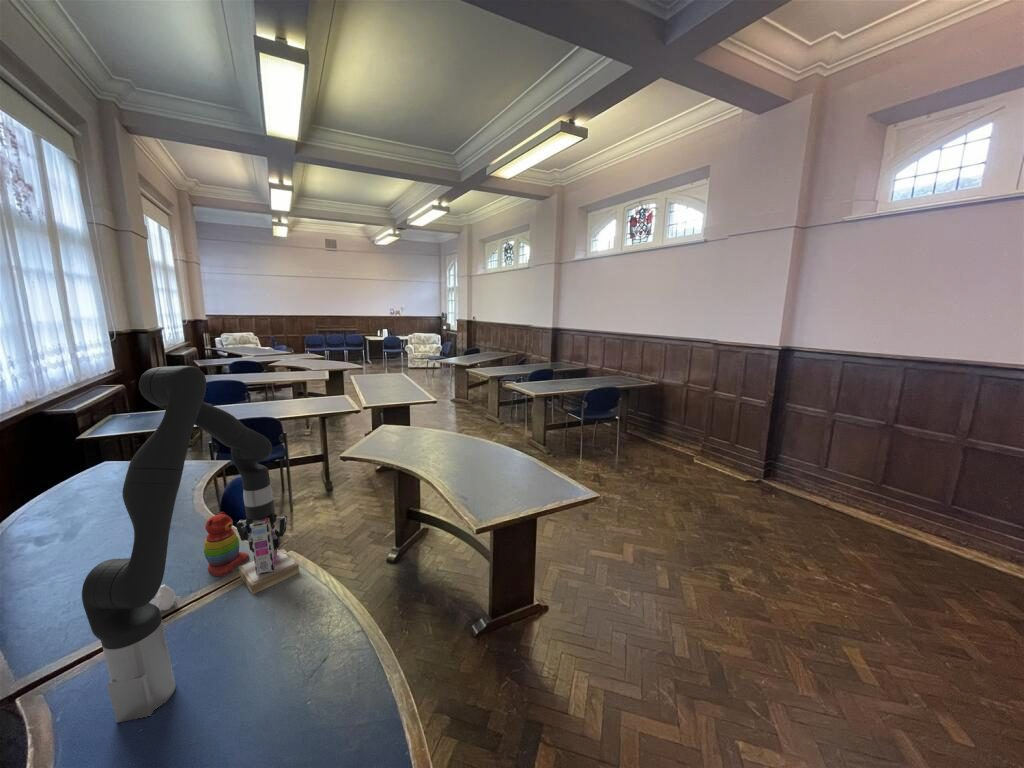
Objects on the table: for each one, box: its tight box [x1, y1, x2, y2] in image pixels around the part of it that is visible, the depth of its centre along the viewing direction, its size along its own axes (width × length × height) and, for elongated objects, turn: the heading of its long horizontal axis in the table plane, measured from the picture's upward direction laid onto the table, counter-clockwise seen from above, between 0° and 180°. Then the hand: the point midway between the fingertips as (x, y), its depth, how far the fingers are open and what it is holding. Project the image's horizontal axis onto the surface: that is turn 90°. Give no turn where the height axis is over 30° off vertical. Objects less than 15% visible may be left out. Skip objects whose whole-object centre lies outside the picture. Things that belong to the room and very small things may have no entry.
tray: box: [238, 548, 300, 595], centre depth 127 cm, size 13×13×3 cm
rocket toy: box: [149, 583, 182, 611], centre depth 113 cm, size 5×5×8 cm
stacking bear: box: [203, 511, 250, 577], centre depth 130 cm, size 11×10×18 cm
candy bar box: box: [249, 517, 278, 575], centre depth 125 cm, size 11×5×16 cm, turn 25°
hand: (265, 549), depth 125 cm, fingers closed on candy bar box, 5 cm apart
